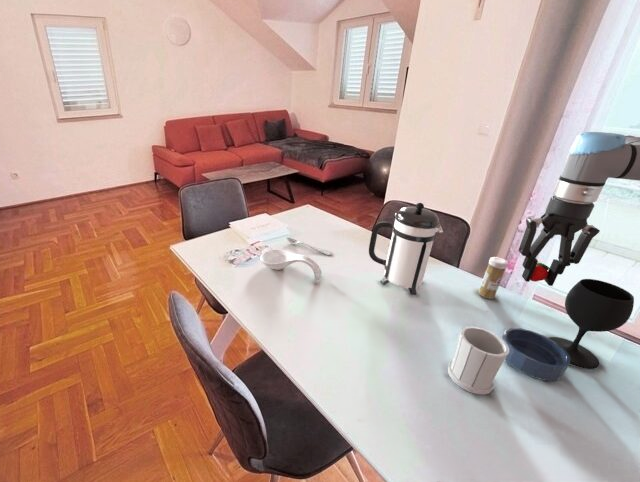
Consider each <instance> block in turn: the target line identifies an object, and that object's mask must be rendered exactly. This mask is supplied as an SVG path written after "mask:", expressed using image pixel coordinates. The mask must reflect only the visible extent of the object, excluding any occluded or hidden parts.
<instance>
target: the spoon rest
mask: <svg viewBox="0 0 640 482" xmlns="http://www.w3.org/2000/svg"><path fill="white" fill-rule="evenodd" d="M259 259H260V262H261V263H262V264H263V265H264V266H266V267H267V268H269V269H272V270H276V271H280V270H283V269H285V268H286V267H288V266H290V265H292V264H294V263H304V264H306V265H307V266H309V267H310V268H311V270H312V272H313V277H314V283H318V282H319V281H320V280H321V278H322V277H323V274H322V270H321V269H322V268H321V267H320V266H319V264H318V263H317V262H316V261H314V259H312V258H310V257H309V256H306V255H303V254H299V253H294V252H290V251H287V250H283V249H270V250H267V251H265V252H263V253H262V254H261V255H260V257H259Z"/></svg>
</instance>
